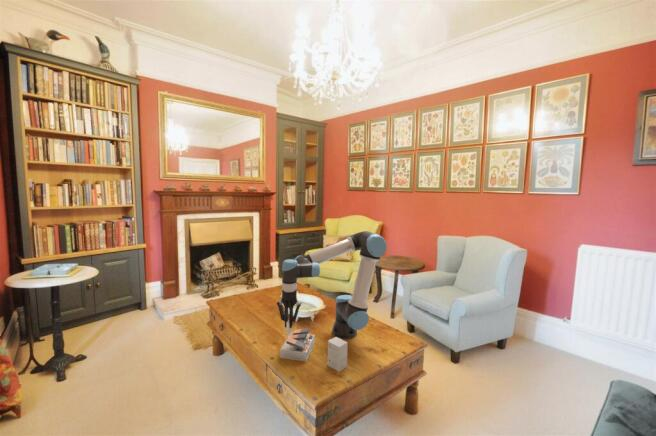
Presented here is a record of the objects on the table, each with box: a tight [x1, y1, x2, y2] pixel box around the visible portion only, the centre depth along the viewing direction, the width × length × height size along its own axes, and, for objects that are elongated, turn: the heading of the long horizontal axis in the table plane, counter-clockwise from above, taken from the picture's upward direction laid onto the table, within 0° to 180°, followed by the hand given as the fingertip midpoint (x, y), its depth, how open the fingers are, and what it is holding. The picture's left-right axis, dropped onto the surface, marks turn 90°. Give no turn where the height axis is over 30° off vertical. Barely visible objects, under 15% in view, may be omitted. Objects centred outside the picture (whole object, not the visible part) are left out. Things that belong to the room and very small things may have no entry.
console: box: [279, 331, 316, 362], centre depth 159 cm, size 14×18×5 cm
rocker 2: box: [290, 333, 307, 341], centre depth 159 cm, size 9×4×2 cm, turn 78°
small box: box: [326, 336, 349, 373], centre depth 146 cm, size 8×6×13 cm
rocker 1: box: [292, 327, 311, 335], centre depth 165 cm, size 9×4×2 cm, turn 78°
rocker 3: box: [286, 337, 305, 349], centre depth 153 cm, size 9×4×2 cm, turn 79°
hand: (288, 333), depth 153 cm, fingers closed
